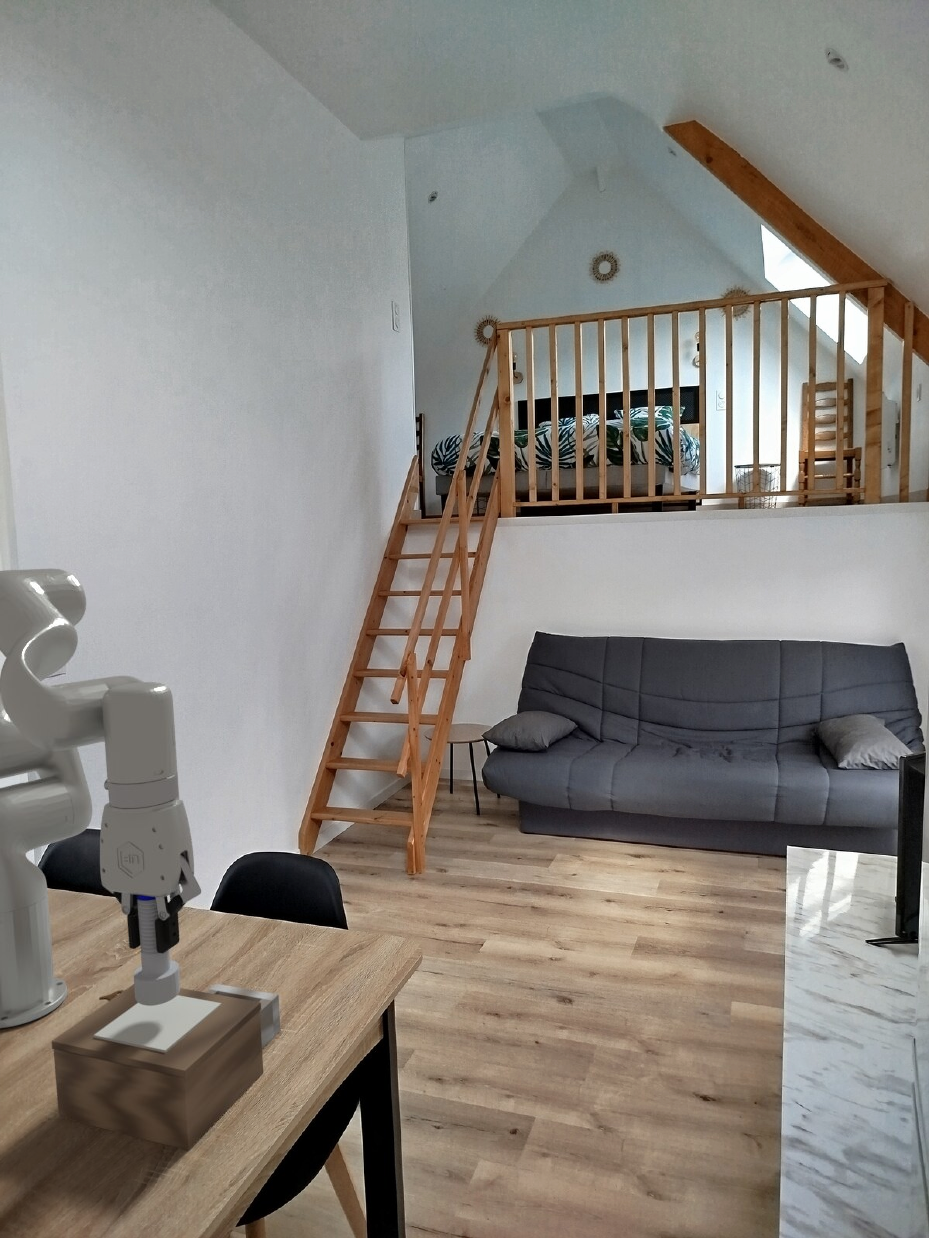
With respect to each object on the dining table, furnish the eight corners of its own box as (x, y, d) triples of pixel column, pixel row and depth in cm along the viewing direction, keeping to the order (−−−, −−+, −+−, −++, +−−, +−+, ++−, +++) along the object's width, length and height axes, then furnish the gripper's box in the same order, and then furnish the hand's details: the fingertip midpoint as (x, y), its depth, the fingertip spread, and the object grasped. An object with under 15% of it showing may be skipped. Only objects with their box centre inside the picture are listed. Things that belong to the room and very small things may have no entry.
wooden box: (57, 1116, 96) (51, 1040, 95) (186, 1012, 117) (182, 950, 116) (190, 1150, 90) (185, 1070, 89) (301, 1034, 111) (297, 968, 110)
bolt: (186, 984, 101) (171, 1006, 96) (145, 985, 101) (128, 1007, 96) (178, 857, 100) (162, 873, 95) (136, 858, 100) (118, 874, 95)
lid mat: (93, 1037, 96) (93, 1034, 96) (154, 993, 105) (154, 990, 105) (165, 1052, 92) (165, 1050, 92) (221, 1005, 102) (221, 1003, 102)
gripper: (62, 795, 96) (74, 951, 97) (181, 805, 90) (192, 971, 91) (111, 778, 103) (121, 923, 104) (224, 786, 97) (233, 940, 98)
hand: (154, 944), depth 98 cm, fingers closed on bolt, 3 cm apart
